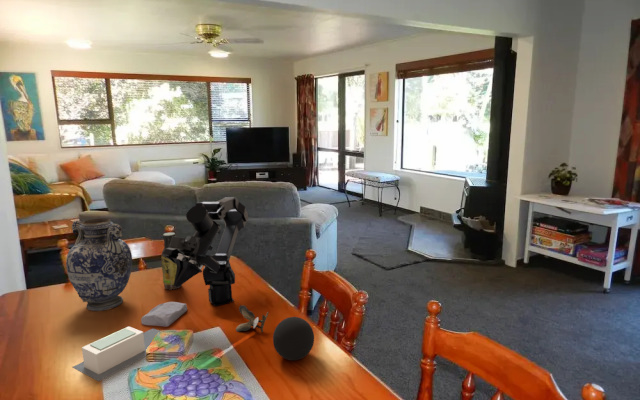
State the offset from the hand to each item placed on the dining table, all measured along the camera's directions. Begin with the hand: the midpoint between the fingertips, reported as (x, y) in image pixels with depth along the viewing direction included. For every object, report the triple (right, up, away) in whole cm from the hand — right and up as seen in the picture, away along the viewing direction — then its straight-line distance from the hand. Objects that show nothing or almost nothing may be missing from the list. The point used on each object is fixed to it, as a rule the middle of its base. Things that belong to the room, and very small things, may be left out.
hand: (175, 286), depth 114 cm
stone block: (-6, -12, +9) cm, 16 cm away
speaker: (+34, -15, -13) cm, 39 cm away
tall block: (-7, -11, -9) cm, 16 cm away
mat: (-8, -15, -11) cm, 20 cm away
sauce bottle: (-12, -7, +33) cm, 36 cm away
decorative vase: (-30, -10, +20) cm, 37 cm away
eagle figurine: (+21, -12, +1) cm, 24 cm away
